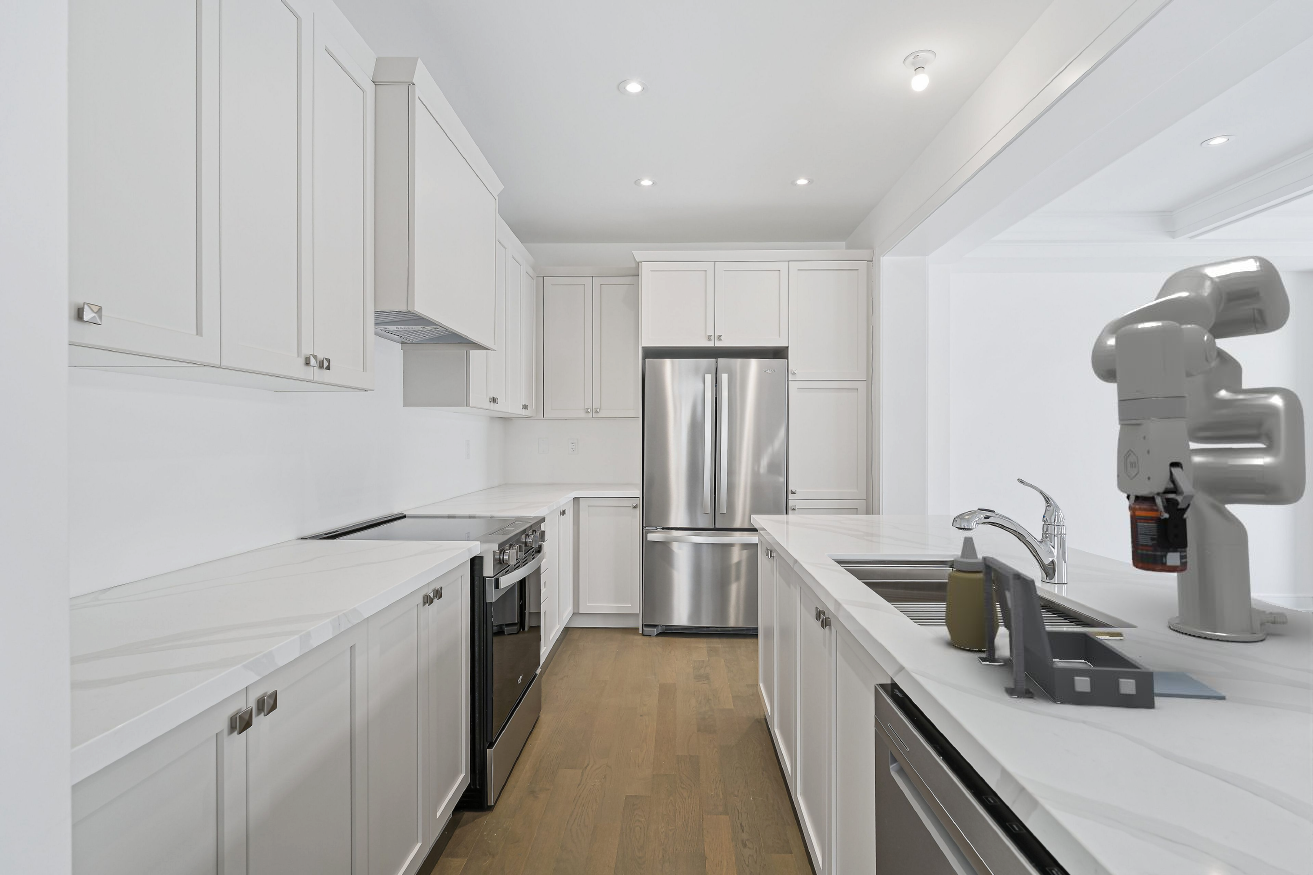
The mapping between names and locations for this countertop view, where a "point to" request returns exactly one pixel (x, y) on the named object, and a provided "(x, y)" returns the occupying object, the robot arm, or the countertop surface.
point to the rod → (1104, 633)
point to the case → (1090, 672)
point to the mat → (1182, 686)
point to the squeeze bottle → (967, 600)
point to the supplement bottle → (1152, 539)
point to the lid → (1024, 613)
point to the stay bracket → (1016, 624)
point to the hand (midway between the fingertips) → (1158, 543)
